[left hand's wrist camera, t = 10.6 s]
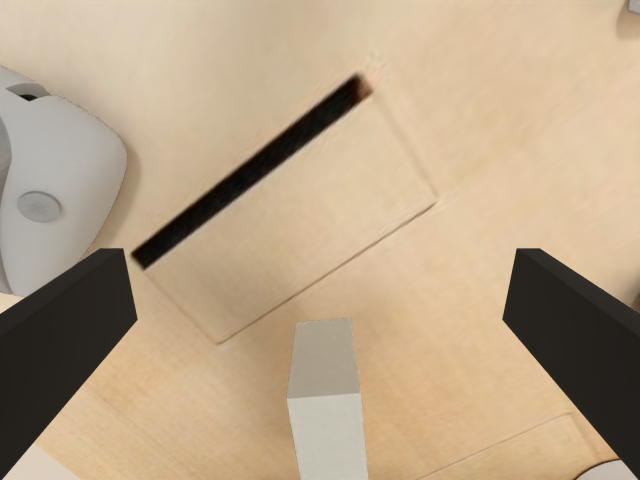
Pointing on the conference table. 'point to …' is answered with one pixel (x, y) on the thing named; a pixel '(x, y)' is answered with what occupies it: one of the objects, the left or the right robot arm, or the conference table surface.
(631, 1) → the fish
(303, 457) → the bar
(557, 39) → the conference table surface
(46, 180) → the projector
